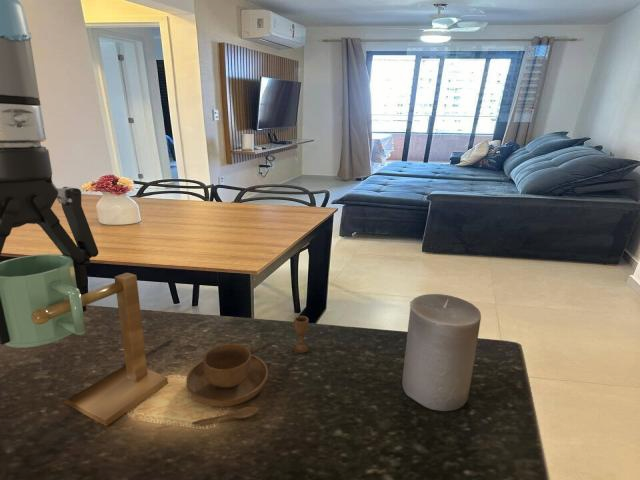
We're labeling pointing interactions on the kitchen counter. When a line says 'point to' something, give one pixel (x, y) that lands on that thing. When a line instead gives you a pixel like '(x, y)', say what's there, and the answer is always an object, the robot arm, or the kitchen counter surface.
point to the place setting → (234, 375)
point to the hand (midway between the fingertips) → (42, 323)
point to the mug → (39, 298)
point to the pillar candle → (440, 351)
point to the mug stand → (134, 378)
